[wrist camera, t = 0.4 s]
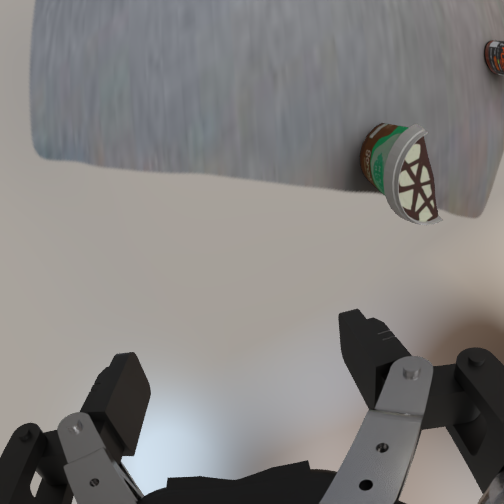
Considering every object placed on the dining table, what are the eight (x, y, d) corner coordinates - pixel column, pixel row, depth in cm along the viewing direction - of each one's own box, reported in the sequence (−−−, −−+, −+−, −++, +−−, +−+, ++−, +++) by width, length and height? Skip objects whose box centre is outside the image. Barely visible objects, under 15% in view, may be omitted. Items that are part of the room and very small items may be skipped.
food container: (338, 129, 36) (380, 148, 28) (378, 112, 36) (427, 127, 27) (366, 211, 43) (404, 246, 34) (401, 192, 42) (443, 223, 34)
